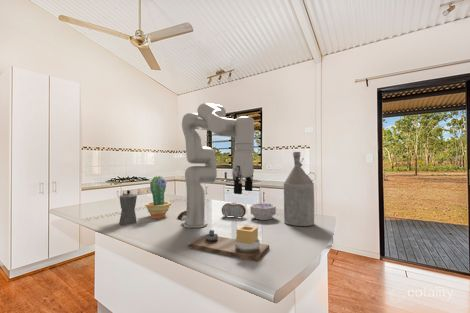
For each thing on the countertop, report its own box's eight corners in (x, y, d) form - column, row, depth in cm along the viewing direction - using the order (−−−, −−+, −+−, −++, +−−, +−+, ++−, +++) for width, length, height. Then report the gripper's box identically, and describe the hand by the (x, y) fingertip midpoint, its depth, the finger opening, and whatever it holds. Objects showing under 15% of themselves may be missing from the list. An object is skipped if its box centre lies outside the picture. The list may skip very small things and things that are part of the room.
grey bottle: (316, 228, 118) (315, 151, 120) (282, 225, 124) (281, 151, 125) (316, 222, 130) (315, 152, 131) (285, 219, 136) (284, 152, 137)
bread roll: (190, 215, 149) (190, 207, 149) (203, 218, 141) (203, 209, 141) (173, 218, 139) (173, 210, 139) (186, 222, 131) (186, 213, 131)
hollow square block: (236, 241, 85) (236, 229, 85) (243, 237, 90) (243, 225, 90) (251, 244, 82) (251, 231, 82) (257, 239, 87) (257, 227, 88)
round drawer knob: (203, 241, 94) (203, 230, 94) (209, 237, 99) (209, 227, 99) (213, 243, 92) (213, 232, 92) (219, 239, 96) (219, 228, 97)
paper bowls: (247, 220, 134) (247, 206, 134) (253, 214, 149) (253, 202, 149) (274, 222, 130) (274, 208, 130) (277, 216, 144) (277, 203, 144)
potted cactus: (143, 220, 134) (143, 177, 135) (146, 214, 149) (146, 175, 150) (171, 218, 138) (171, 176, 139) (171, 213, 153) (171, 175, 154)
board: (188, 247, 91) (188, 243, 91) (206, 237, 103) (206, 234, 103) (257, 261, 78) (256, 257, 78) (269, 248, 90) (269, 245, 90)
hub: (231, 250, 84) (231, 234, 84) (241, 243, 92) (241, 228, 92) (254, 255, 80) (254, 238, 80) (262, 246, 88) (262, 231, 88)
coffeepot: (141, 223, 126) (141, 190, 127) (123, 227, 120) (123, 192, 120) (131, 218, 138) (131, 188, 138) (113, 221, 131) (114, 189, 131)
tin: (245, 217, 141) (246, 203, 141) (244, 218, 138) (244, 204, 138) (222, 216, 145) (222, 202, 145) (220, 217, 142) (221, 203, 142)
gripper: (244, 149, 100) (244, 189, 100) (225, 147, 85) (224, 194, 85) (261, 149, 97) (260, 190, 97) (243, 147, 81) (242, 196, 81)
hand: (243, 192), depth 91 cm, fingers open, 9 cm apart
